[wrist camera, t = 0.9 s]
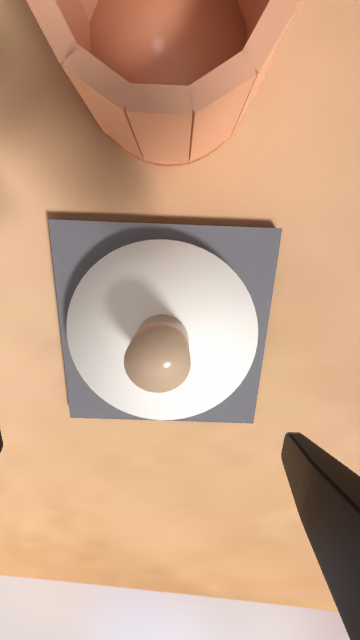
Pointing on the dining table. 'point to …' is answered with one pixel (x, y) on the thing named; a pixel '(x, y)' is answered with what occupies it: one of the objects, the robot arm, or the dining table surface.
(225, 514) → the dining table surface
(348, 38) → the dining table surface
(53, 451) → the dining table surface
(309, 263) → the dining table surface
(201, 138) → the bowl
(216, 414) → the mat
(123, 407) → the lid
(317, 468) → the robot arm
